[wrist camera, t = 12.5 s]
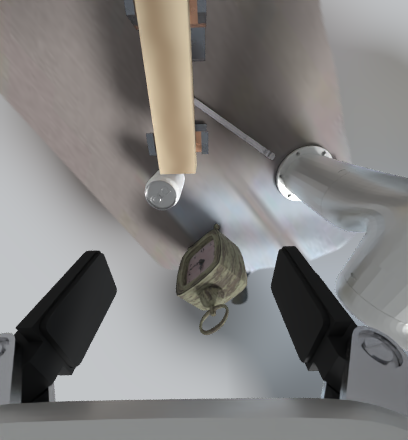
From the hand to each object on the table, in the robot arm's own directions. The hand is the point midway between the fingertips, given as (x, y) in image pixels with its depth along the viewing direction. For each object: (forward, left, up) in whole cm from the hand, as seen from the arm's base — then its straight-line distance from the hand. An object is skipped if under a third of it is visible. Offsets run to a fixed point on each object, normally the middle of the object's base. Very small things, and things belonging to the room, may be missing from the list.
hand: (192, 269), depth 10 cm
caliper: (-7, -6, -35) cm, 36 cm away
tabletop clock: (-2, +23, -34) cm, 42 cm away
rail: (+3, -12, -24) cm, 27 cm away
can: (+7, +4, -34) cm, 35 cm away
